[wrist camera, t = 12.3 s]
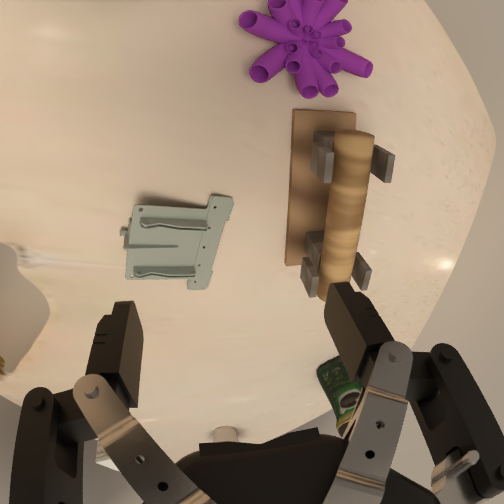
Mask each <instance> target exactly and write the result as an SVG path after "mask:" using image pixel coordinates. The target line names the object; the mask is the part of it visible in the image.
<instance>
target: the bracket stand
mask: <svg viewBox="0 0 504 504" xmlns="http://www.w3.org/2000/svg"><path fill="white" fill-rule="evenodd" d="M355 123H356V114H355V113H353V112H340V111H324V110H302V109H293V114H292V140H291V162H290V183H289V201H288V218H287V234H286V249H285V265H286V266H293V265H302V266H301V275H300V278H301V280H302V282H303V284H304V286H305V289H306V291H307V293H308V295H309V298H311V297H316V293H317V287H318V281H319V268H320V262H321V255H322V247H323V240H324V233H325V225H326V217H327V208H328V200H329V191H330V183H331V182H332V172H333V162H334V152H333V150H334V138H335V130H338V129H348V130H355ZM394 160H395V155H394V154H392V153H390V152H389V151H387V150H385V149H383V148H381V147H380V146H378V145H374V146H373V154H372V162H371V169H370V172H371V173H372V174H373V175H375V176H376V177H377V178H379V179H380V180H381V181H383V182H384V183H391V179H392V173H393V167H394ZM371 272H372V270H371V268H370V267H369V265H368V264H367V263H366V261H365V260H364V259H363V257H362V256H361V255H360V253H359V252H356V256H355V261H354V265H353V270H352V277H353V279H354V280H355V282H356V283H357V285H358V286H359V288H360V290H361V291H363V290H367V288H368V284H369V280H370V276H371Z"/></svg>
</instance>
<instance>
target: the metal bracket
mask: <svg viewBox="0 0 504 504" xmlns="http://www.w3.org/2000/svg"><path fill="white" fill-rule="evenodd" d="M233 205H234V201H233V198H232V197H227V196H217V195H212V196H210V199H209V203H208V206H207V208H206V209H199V208H185V207H170V206H154V205H134V207H133V214H132V221H131V219H130V218H129V224H128V230H120V236H121V235H123V236H125V238H124V247H123V249H124V250H128V254H127V263H126V274H125V278H126V279H127V280H146V279H188V285H187V289H189V290H204V289H206V288H207V287H208V286H209V283H210V279H211V276H212V273H213V271H212V270H211V269H212V265H213V262H214V258H215V255H216V252H217V248H218V245H219V242H220V238H221V235H222V232H223V228H224V225H225V222H226V221H228V220H229V218H230V214H231V211H232V208H233ZM214 206H216V208H214ZM139 208H143V210H142V211H139ZM208 227H210V228H209V229H208ZM203 246H205V247H204V248H203ZM199 264H200V265H199ZM198 265H199V266H198ZM130 275H134V276H133V277H130ZM194 281H196V282H194Z"/></svg>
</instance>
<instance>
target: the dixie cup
mask: <svg viewBox="0 0 504 504" xmlns="http://www.w3.org/2000/svg"><path fill="white" fill-rule="evenodd" d="M224 441H232V442H239V441H238V437H237V434H236V431H235V429H234V428H233V427H228V426H225V427H219V428H216V429H215V430H214V442H224Z"/></svg>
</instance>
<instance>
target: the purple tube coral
mask: <svg viewBox="0 0 504 504" xmlns="http://www.w3.org/2000/svg"><path fill="white" fill-rule="evenodd" d="M347 2H348V0H303V1H302V0H269V1H268V8H269V11H270V13H271V15H272V17H273V18H271V17H269V16H266V15H264V14H262V13H259V12H256V11H252V10H248V11H245V12H243V13H242V14H241V15H240V17H239V25H240V26H241V27H242V28H243V29H244V30H246V31H247V32H249V33H251V34H253V35H256V36H258V37H261V38H264V39H267V40H270V41H273V42H277V43H279V44H278V45H276V46H274V47H273V48H271V49H270V50H268V51H267V52H266V53H264V54H263V55H262V56H260V57H259V58H258V59H257V60H256V61H255V62H254V63H253V64H252V66H251V68H250V70H249V74H250V77H251V78H252V79H253V80H254V81H255V82H258V83H264V82H267V81H268V80H270V79H271V78H272V77H273V76H275V75H276V74H277V73H278V72H280V71H281V70H282V69H283V68H286V70H287V71H288V72H290V73H294V75H295V81H296V84H297V88H298V90H299V92H300V94H301V95H302V96H303V97H304V98H307V99H310V98H314V97H315V96H317V94H318V92H320V93H321V94H322V95H323V96H325V97H332V96H334V95H336V94H337V92H338V90H339V88H338V85H337V83H336V81H335V80H334V78H333V76H332V75H331V73H334V74H335V73H338V72H339V71H340V70H341V69H342V70H344V71H346V72H349V73H351V74H354V75H356V76H359V77H363V78H368V77H369V76H370V74H371V73H372V70H373V64H372V62H370V61H369V60H367V59H365V58H363V57H361V56H359V55H357V54H355V53H353V52H350V51H348V50H346V49H344V48H343V47H344V46H345V40H344V39H343V38H342V37H339V36H341V35H344V34H347V33H349V32H350V31H351V30H352V26H351V24H350V22H349V21H347V20H344V19H343V20H337V21H333V22H331V21H332V20H333V18H334V17H335V16H336V15H337V14H338V13H339V12H340V11H341V10H342V9H343V8H344V6H345V5H346V4H347Z"/></svg>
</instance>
